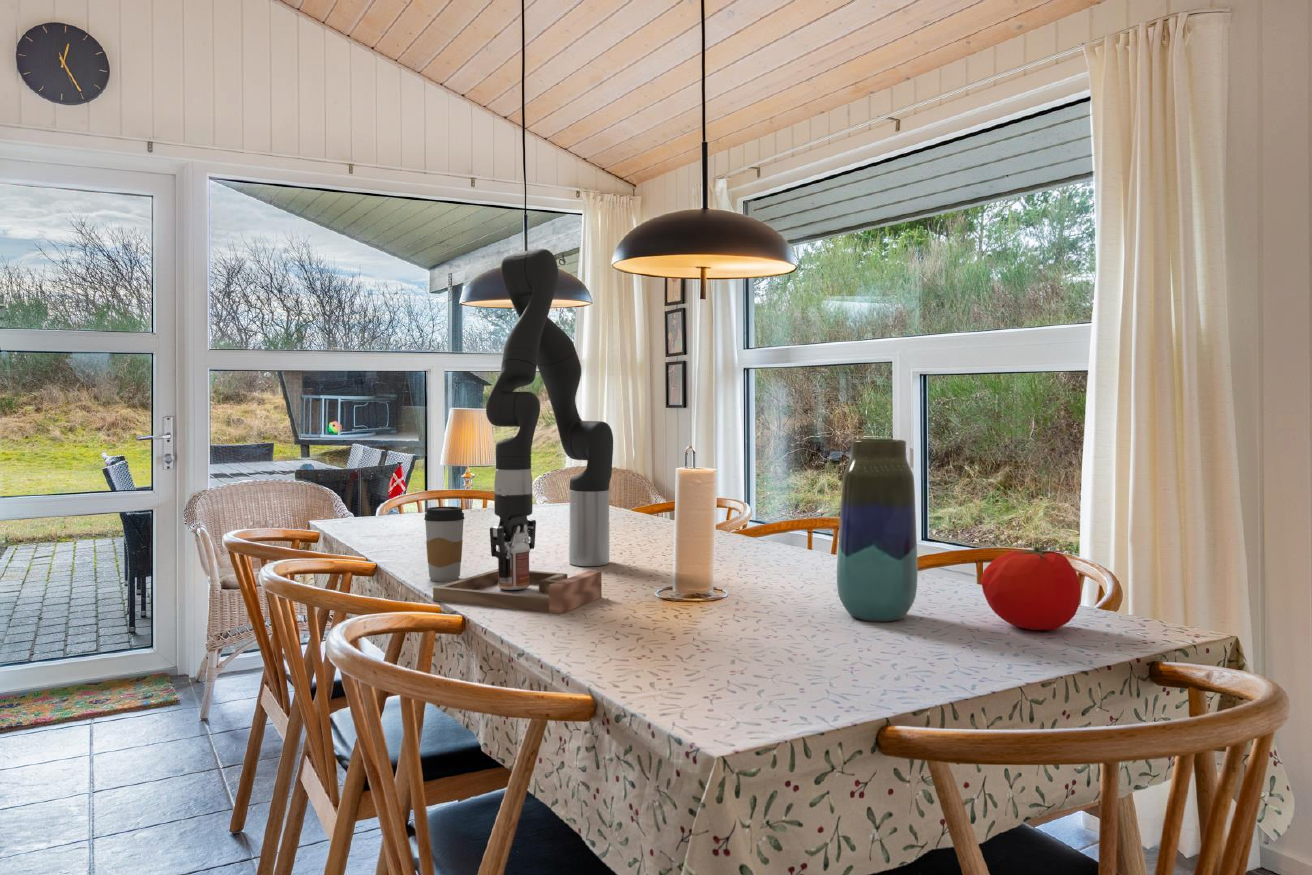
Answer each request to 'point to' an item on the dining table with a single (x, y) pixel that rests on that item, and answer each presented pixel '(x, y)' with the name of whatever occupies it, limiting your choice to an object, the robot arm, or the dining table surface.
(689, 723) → the dining table surface
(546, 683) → the dining table surface
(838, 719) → the dining table surface
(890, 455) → the vase
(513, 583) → the pill bottle
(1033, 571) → the tomato
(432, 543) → the coffee cup
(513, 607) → the wooden tray frame
